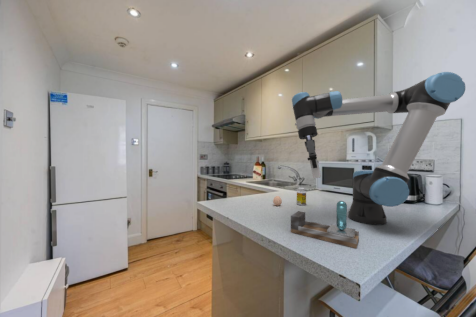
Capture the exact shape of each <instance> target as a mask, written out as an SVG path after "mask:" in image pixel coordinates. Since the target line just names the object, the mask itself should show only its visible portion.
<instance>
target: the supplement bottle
mask: <svg viewBox="0 0 476 317" xmlns="http://www.w3.org/2000/svg"><path fill="white" fill-rule="evenodd" d="M305 190H306V188H305V187H298V188H297V190H296V205H298V206H306V205H307V191H305Z"/></svg>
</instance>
